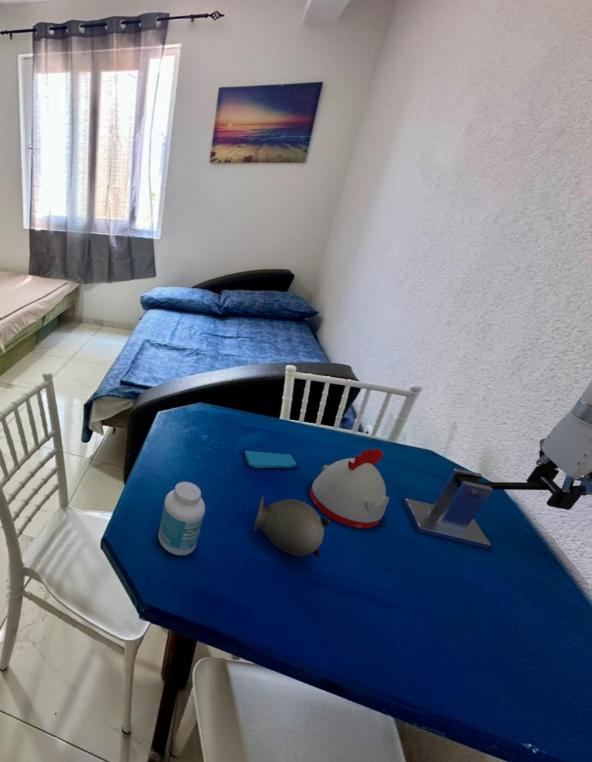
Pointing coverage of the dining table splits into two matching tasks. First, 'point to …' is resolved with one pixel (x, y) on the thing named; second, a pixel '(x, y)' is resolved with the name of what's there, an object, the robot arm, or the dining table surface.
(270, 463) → the sponge
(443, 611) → the dining table surface
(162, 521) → the pill bottle
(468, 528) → the bracket
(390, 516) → the dining table surface
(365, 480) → the kitchen timer
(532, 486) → the lever
